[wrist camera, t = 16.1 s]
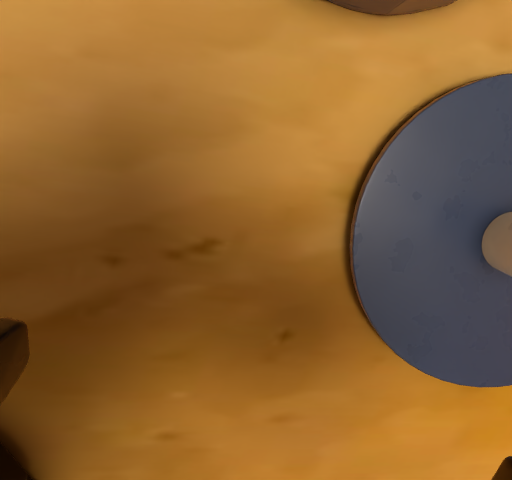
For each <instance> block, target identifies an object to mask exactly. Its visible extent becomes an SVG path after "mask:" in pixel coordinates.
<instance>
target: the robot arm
mask: <svg viewBox="0 0 512 480" xmlns="http://www.w3.org/2000/svg"><path fill="white" fill-rule="evenodd" d="M29 356H30V352H29V340H28V328H27V325H26V324H25V323H24V322H23V321H19V320H15V319H12V318H8V317H4V318H0V406H1V404H2V403H3V401H4V400H5V398H6V397H7V395H8V394H9V392H10V391H11V389H12V388H13V386H14V384H15V383H16V381H17V380H18V378H19V377H20V375H21V374H22V372H23V371H24V369H25V367H26V366H27V363H28V361H29ZM0 480H32V479H31V477H30V476H29V475H28V474H27V473H26V472H25V470H24V469H23V468H22V467H21V466H20V465H19V463H18V462H17V461H16V460H15V459H14V458H13V456H12V455H11V454H10V453H9V452H8V451H7V449H6V448H5V447H4V446H3V445H2V444H1V442H0ZM492 480H512V456H509V457H506V458H505V459H504V460H503V462H502V463H501V465H500V467H499V468H498V470H497V471H496V473H495V475H494V476H493V478H492Z"/></svg>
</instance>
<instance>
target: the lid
mask: <svg viewBox="0 0 512 480" xmlns="http://www.w3.org/2000/svg"><path fill="white" fill-rule="evenodd" d="M350 263H351V271H352V276H353V282H354V287H355V290H356V292H357V295H358V298H359V301H360V304H361V306H362V308H363V310H364V312H365V314H366V316H367V318H368V320H369V322H370V323H371V325H372V326H373V327H374V329H375V330H376V332H377V333H378V334H379V336H380V337H381V338H382V340H383V341H384V342H385V343H386V344H387V345H388V346H389V347H390V348H391V349H392V350H393V351H394V352H395V353H396V354H397V355H398V356H400V357H401V358H402V359H403V360H405V361H406V362H407V363H408V364H410V365H412V366H413V367H415V368H417V369H418V370H420V371H422V372H424V373H425V374H428V375H430V376H433V377H435V378H438V379H440V380H443V381H447V382H451V383H455V384H459V385H465V386H474V387H501V386H509V385H512V73H510V74H502V75H497V76H493V77H489V78H484V79H480V80H476V81H473V82H471V83H468V84H466V85H463V86H460V87H458V88H455V89H453V90H451V91H450V92H448V93H446V94H444V95H442V96H440V97H439V98H437V99H435V100H433V101H432V102H431V103H429V104H428V105H427V106H425V107H424V108H422V109H421V110H420V111H418V112H417V113H416V114H415V115H413V116H412V117H411V118H410V119H409V120H408V121H407V122H406V123H405V124H404V125H403V126H402V127H401V128H399V130H398V131H397V132H396V133H395V134H394V136H393V137H392V138H391V139H390V140H389V142H388V143H387V144H386V145H385V146H384V148H383V149H382V151H381V153H380V154H379V156H378V157H377V159H376V160H375V162H374V163H373V165H372V167H371V169H370V171H369V173H368V175H367V177H366V179H365V181H364V183H363V185H362V188H361V191H360V194H359V197H358V200H357V203H356V206H355V211H354V215H353V220H352V225H351V235H350Z"/></svg>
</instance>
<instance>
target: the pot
mask: <svg viewBox="0 0 512 480" xmlns="http://www.w3.org/2000/svg"><path fill="white" fill-rule="evenodd" d="M328 1H330V2H332V3H334V4H337V5H340V6H343V7H345V8H348V9H351V10H355V11H360V12H365V13H370V14H382V15H398V14H411V13H416V12H420V11H424V10H429V9H433V8H435V7H440V6H447V5H449V4H451V3H453V2H455V1H457V0H328Z"/></svg>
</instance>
